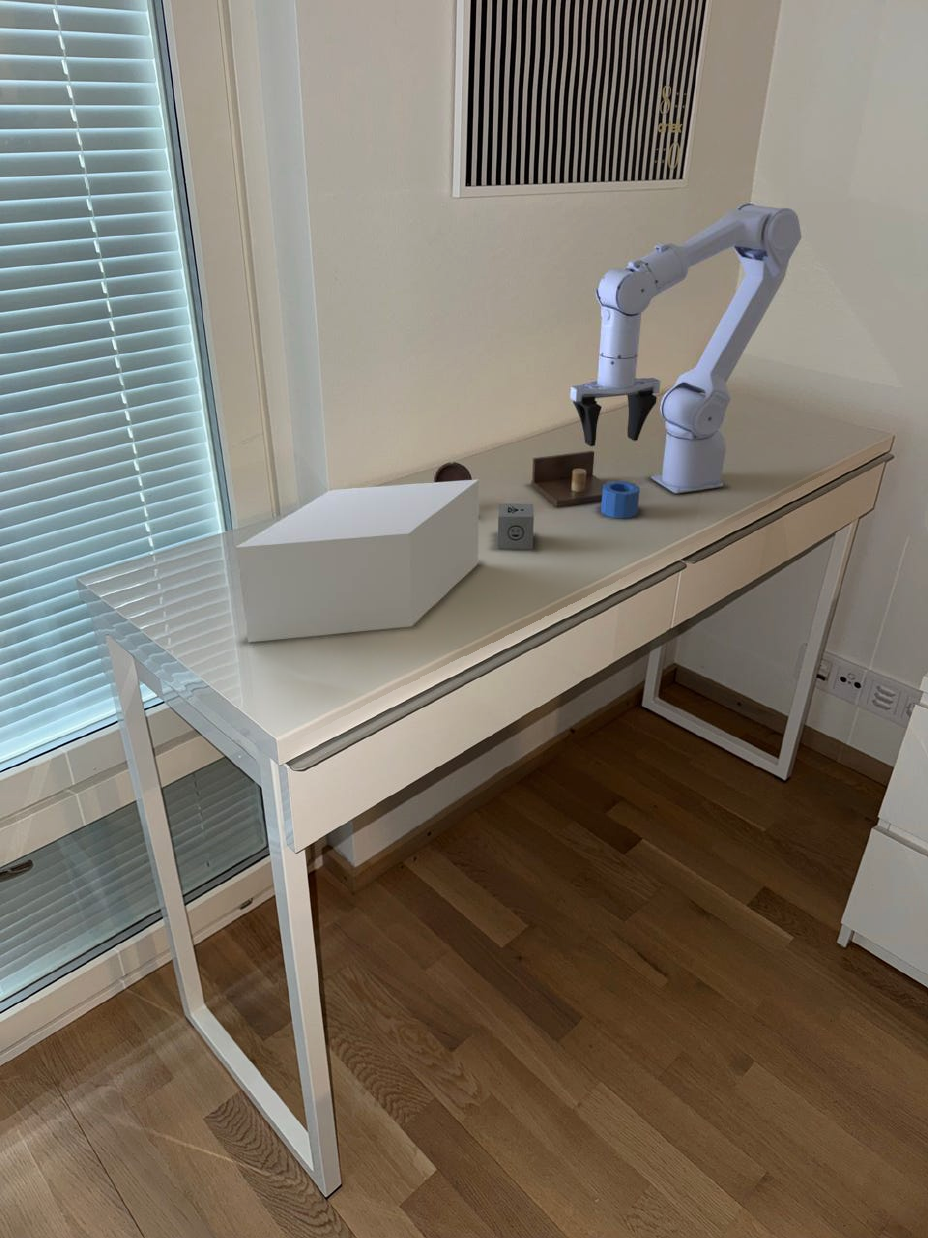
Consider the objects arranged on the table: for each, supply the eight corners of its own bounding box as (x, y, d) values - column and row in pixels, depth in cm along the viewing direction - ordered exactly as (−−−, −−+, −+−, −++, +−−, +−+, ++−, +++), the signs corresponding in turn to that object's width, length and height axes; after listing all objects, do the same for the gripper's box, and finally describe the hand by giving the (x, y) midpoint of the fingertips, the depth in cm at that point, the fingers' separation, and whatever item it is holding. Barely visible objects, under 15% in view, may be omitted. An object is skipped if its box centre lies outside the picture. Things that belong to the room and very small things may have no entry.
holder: (589, 477, 156) (591, 449, 154) (617, 498, 148) (620, 468, 146) (531, 485, 153) (532, 457, 151) (556, 507, 145) (558, 477, 142)
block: (519, 586, 121) (522, 498, 115) (283, 673, 102) (272, 574, 96) (440, 542, 133) (439, 461, 127) (216, 614, 114) (203, 522, 108)
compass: (419, 520, 140) (418, 475, 137) (437, 502, 147) (436, 458, 143) (469, 526, 138) (469, 481, 134) (484, 508, 144) (485, 464, 141)
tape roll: (626, 502, 146) (628, 479, 144) (643, 515, 142) (646, 491, 140) (594, 507, 145) (596, 483, 143) (611, 520, 140) (613, 496, 138)
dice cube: (497, 534, 135) (498, 503, 133) (531, 535, 135) (532, 503, 133) (497, 548, 131) (498, 516, 129) (532, 549, 131) (533, 516, 128)
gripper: (647, 344, 143) (638, 429, 149) (563, 352, 138) (558, 438, 145) (671, 354, 137) (661, 442, 144) (584, 362, 133) (578, 452, 139)
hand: (611, 441), depth 144 cm, fingers open, 7 cm apart
